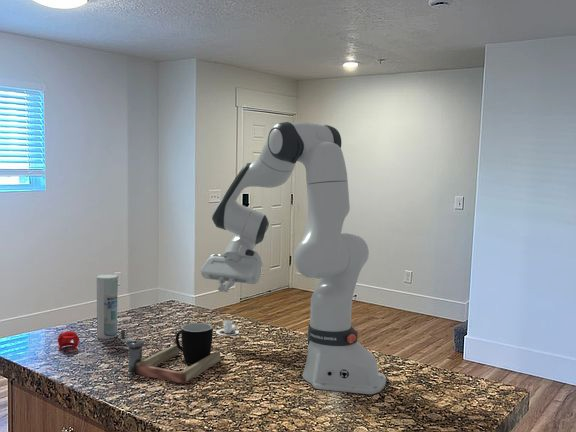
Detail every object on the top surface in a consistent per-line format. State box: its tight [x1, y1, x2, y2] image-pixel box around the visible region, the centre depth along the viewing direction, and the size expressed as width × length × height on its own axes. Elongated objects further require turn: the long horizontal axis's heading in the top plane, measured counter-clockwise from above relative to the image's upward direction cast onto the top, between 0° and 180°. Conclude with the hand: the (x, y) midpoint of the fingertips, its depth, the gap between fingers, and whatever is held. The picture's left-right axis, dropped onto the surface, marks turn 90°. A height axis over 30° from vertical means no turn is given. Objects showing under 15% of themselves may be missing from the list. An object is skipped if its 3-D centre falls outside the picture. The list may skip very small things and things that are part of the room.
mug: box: [175, 322, 214, 366], centre depth 158 cm, size 12×9×10 cm
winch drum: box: [120, 329, 145, 373], centre depth 149 cm, size 7×5×11 cm, turn 68°
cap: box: [57, 330, 80, 350], centre depth 165 cm, size 7×6×6 cm
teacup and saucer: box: [215, 320, 240, 337], centre depth 187 cm, size 9×8×4 cm
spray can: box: [96, 274, 119, 340], centre depth 178 cm, size 6×6×20 cm
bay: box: [135, 343, 221, 385], centre depth 152 cm, size 15×19×3 cm
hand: (222, 290), depth 173 cm, fingers closed
